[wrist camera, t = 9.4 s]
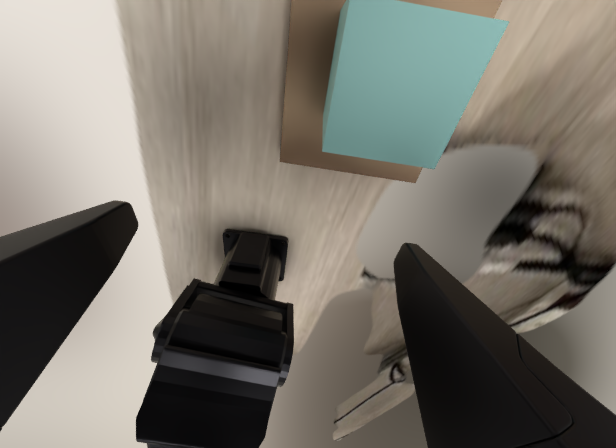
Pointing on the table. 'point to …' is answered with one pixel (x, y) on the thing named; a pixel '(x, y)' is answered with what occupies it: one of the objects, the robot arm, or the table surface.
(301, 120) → the base plinth
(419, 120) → the teal block
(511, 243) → the table surface
